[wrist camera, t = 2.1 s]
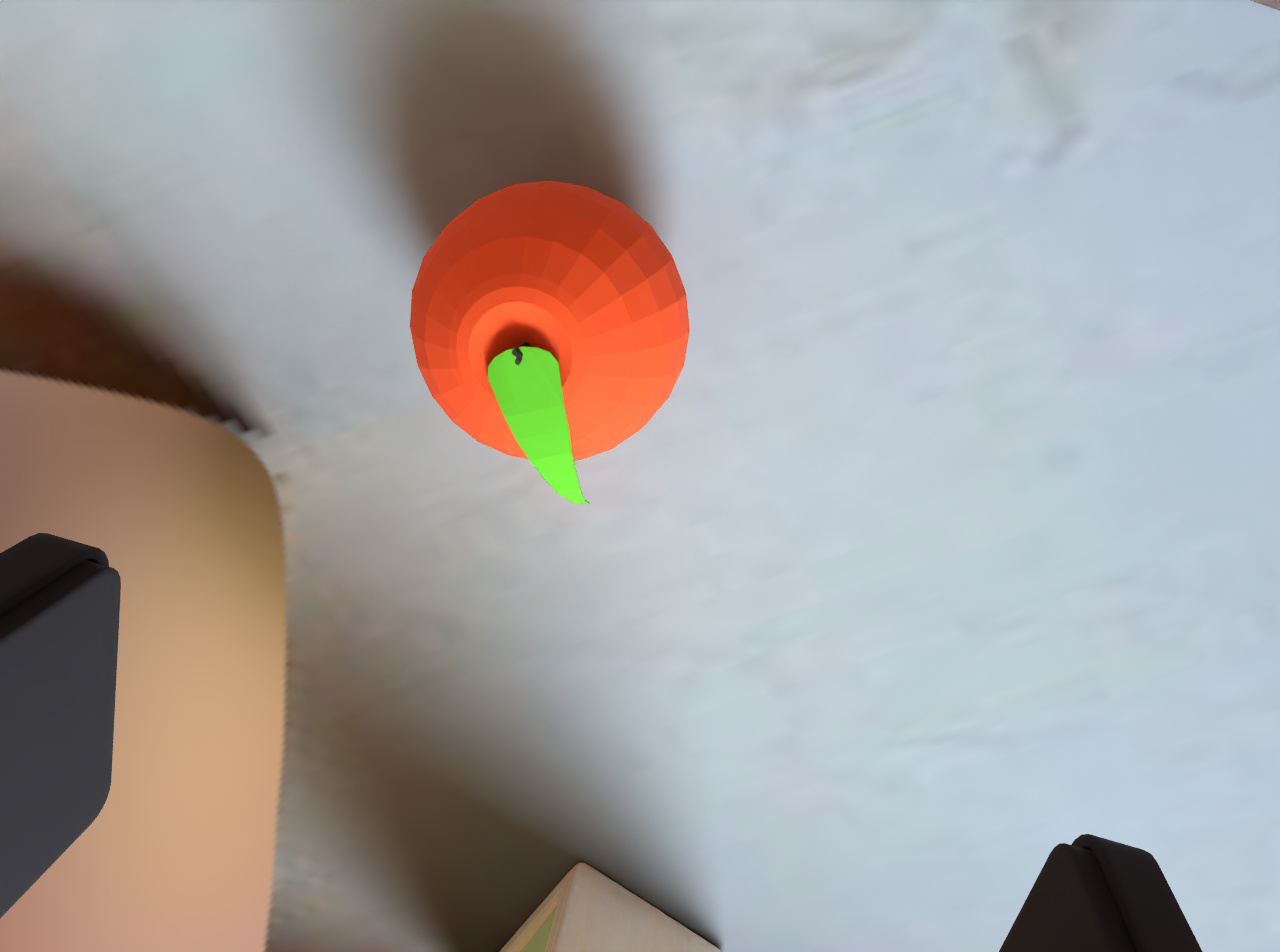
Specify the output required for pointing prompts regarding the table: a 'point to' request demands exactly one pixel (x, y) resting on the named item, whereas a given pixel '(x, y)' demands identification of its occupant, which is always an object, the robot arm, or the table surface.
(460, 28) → the table surface
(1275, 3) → the tray
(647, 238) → the clementine
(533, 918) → the tall white pillar block
